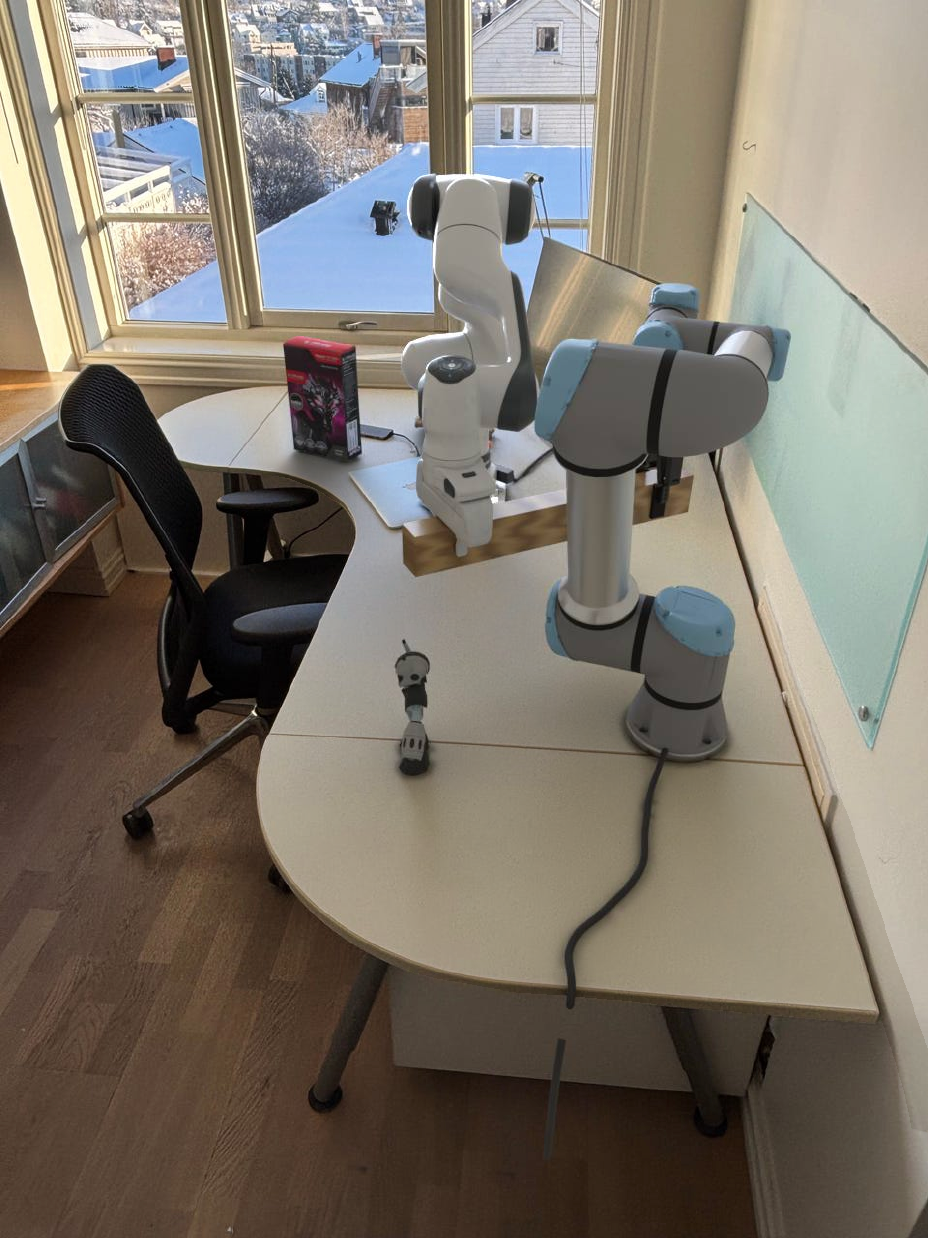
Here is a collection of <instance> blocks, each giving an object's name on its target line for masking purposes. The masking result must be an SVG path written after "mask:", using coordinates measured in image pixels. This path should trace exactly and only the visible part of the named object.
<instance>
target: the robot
mask: <svg viewBox="0 0 928 1238" xmlns="http://www.w3.org/2000/svg"><path fill="white" fill-rule="evenodd" d="M401 642H402V645H403V648H404V650H405V653H403V654H401V655H400V656H399V657H398V658H396V661H395V663H394V669H395V674H396V676H397V681H398V683H397V685H398V687H399V688H402V689H401V693H402V695H403V697H404V711H405V713H406V716H407V718H408V721H409V722H408V723H407V725H406V727H405V729H404V731H403V734H402V735H403V736H402V740H401V741H400V743H399V745H398V746H399V748H400V753H401V758H402V759H401V762H400V764H399V766H398V769H399V770H400V771H401V772H402V773H403V774H405V775H408V776H416V775H419V774H422V773H425V772H427V771H428V769H429V767H430V765H431V764H430V763H431V762H430V756H429V755H430V754H429V752H428V750H429V749H430V745H429V744H430V743H429V738H428V734H427V732H426V728H425V724H424V723H423V722H422V721H423V719H424V708H428V705H429V704H428V702H429V701H428V694H427V690H426V684H427V683H428V677H427V675H428V674H429V673H430V670H431V664H430V663H431V662H430V659H429V658H428V657H427V655H425V654H424V653H422V652H420V651H417V650H412V649H411V648H410V647H409V645H408V643H407V641H406V639H405V638H403V639H402V640H401Z"/></svg>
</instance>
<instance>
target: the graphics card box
mask: <svg viewBox="0 0 928 1238" xmlns="http://www.w3.org/2000/svg"><path fill="white" fill-rule="evenodd" d="M282 346H283V355H284V365H285V374H286V375H285V376H286V383H287V384H286V386H287V394H288V405H289V414H290V423H291V425H290V427H291V436H292V444H293V445H292V447H293V451H294V450H296V451H299V452H304V453H307V454H312V455H315V456H316V455H317V456H321V457H325V458H329V459H332V460H338V461H342V462H346V463H349V462H351V461H352V460H354V459H355V458H357V457H358V456H361V455H362V453H363V447H362V431H361V429H362V428H361V416H360V415H361V414H360V402H359V401H360V400H359V384H358V367H357V366H358V364H357V347H356V345H355V344H346V343H340V342H335V341H329V340H324V339H319V338H313V337H309V336H304V335H296V336H292V337H291V338H289V339H288V340H286V341H285V342H284V343H283V344H282Z"/></svg>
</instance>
